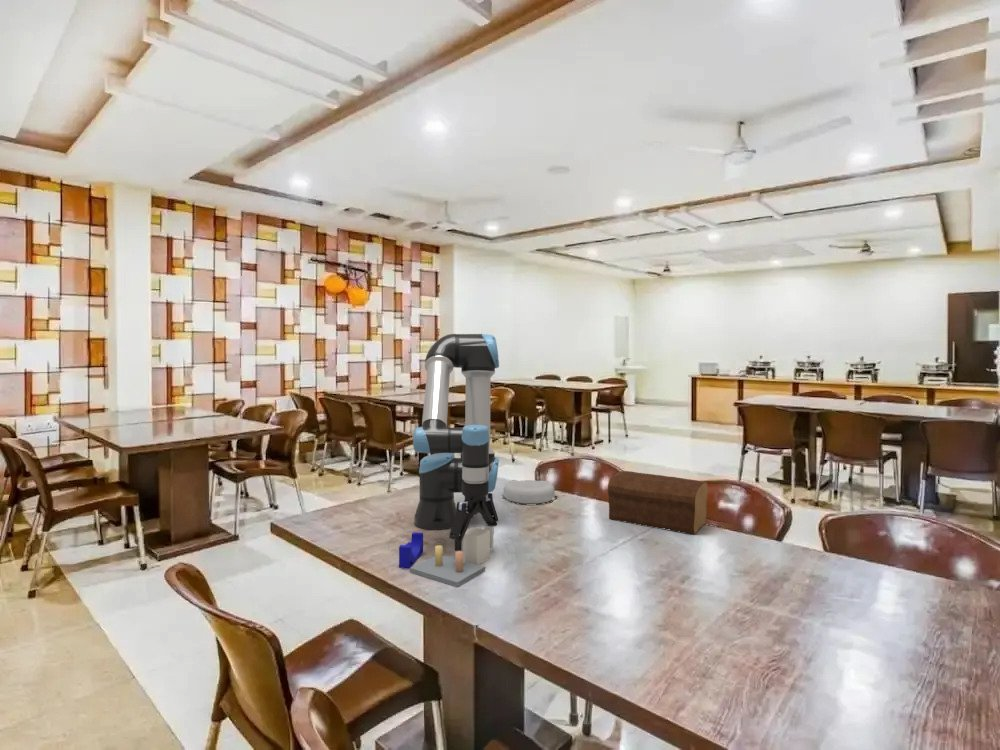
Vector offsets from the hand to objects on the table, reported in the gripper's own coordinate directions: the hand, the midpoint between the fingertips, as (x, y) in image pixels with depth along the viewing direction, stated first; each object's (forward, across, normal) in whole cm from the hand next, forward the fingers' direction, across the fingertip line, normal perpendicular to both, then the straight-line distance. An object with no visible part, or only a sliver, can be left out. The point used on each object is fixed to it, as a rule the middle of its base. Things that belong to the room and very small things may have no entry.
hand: (474, 555), depth 159 cm
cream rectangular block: (+1, 0, 0) cm, 1 cm away
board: (+1, +11, -1) cm, 11 cm away
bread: (+2, -64, +31) cm, 72 cm away
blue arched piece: (+2, +10, -15) cm, 19 cm away
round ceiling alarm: (+2, -65, -21) cm, 68 cm away
